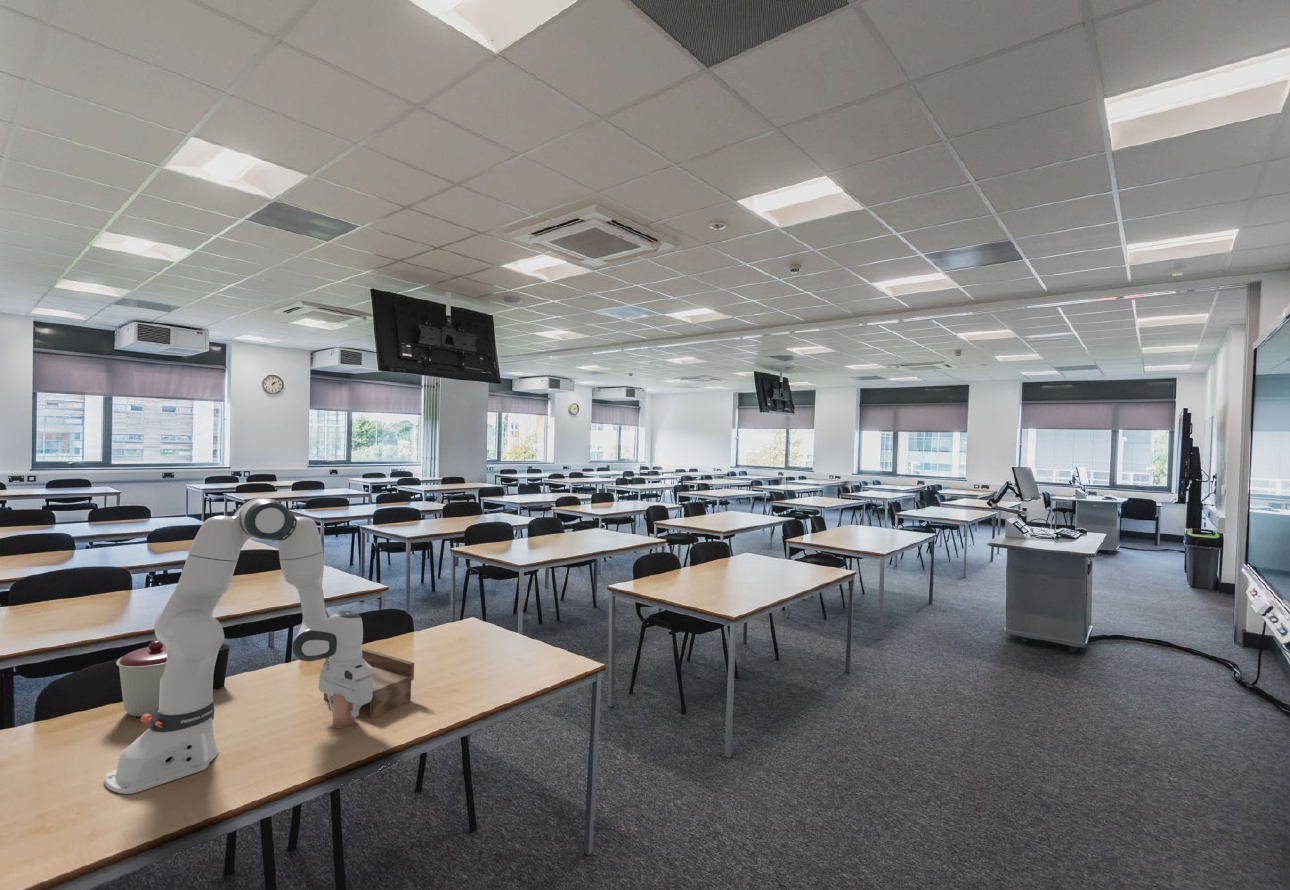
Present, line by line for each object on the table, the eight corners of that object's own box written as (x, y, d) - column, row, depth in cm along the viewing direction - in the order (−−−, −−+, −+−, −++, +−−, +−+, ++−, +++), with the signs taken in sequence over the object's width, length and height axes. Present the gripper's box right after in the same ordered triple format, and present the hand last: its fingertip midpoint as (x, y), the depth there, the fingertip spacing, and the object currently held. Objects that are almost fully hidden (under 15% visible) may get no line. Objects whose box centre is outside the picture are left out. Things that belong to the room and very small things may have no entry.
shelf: (370, 718, 180) (371, 679, 180) (320, 700, 191) (321, 663, 191) (413, 699, 194) (414, 662, 194) (364, 683, 205) (365, 648, 205)
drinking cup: (214, 693, 194) (216, 632, 194) (195, 690, 195) (197, 630, 195) (235, 684, 201) (236, 625, 201) (216, 681, 203) (218, 623, 203)
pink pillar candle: (341, 729, 172) (342, 699, 173) (327, 724, 175) (328, 694, 175) (359, 721, 178) (360, 691, 178) (346, 716, 181) (347, 687, 181)
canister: (112, 708, 181) (114, 639, 181) (186, 692, 194) (188, 627, 194) (116, 729, 169) (119, 655, 169) (195, 710, 181) (198, 642, 181)
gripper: (313, 662, 179) (312, 708, 179) (358, 676, 169) (356, 725, 169) (333, 656, 184) (331, 700, 184) (377, 669, 175) (375, 716, 175)
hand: (344, 712), depth 177 cm, fingers open, 8 cm apart
